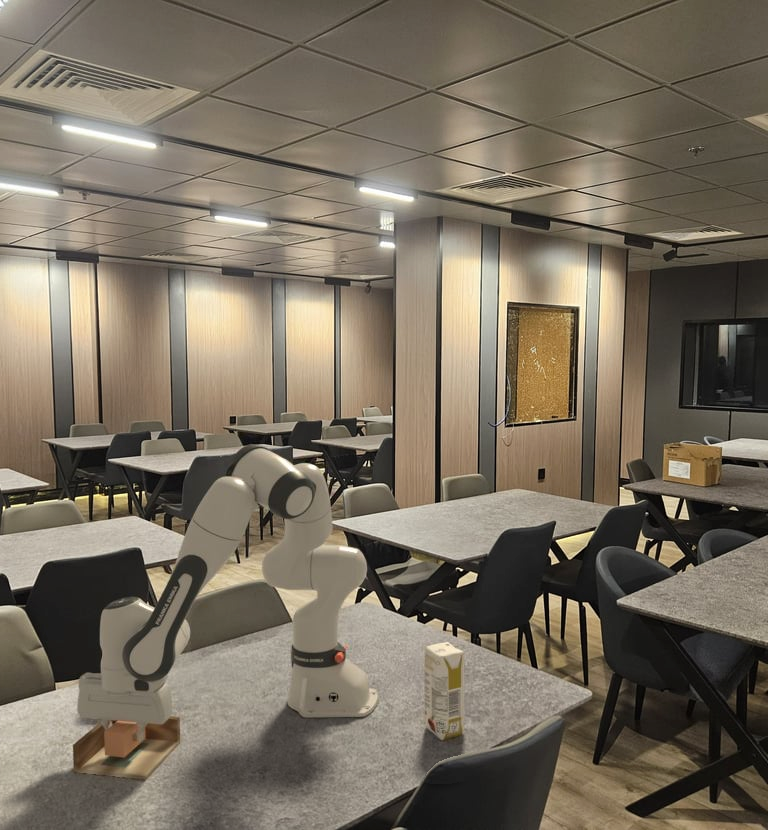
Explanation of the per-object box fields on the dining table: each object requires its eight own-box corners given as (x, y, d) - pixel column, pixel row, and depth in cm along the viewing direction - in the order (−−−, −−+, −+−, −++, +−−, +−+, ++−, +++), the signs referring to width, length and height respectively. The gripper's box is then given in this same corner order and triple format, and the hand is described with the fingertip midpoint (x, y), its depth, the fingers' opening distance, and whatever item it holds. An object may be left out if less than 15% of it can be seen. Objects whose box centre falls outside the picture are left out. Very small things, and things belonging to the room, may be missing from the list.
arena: (180, 742, 160) (179, 716, 159) (146, 779, 145) (145, 751, 145) (113, 736, 162) (113, 711, 162) (73, 772, 148) (72, 744, 147)
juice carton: (440, 743, 158) (440, 658, 157) (420, 726, 166) (420, 645, 165) (469, 735, 162) (469, 652, 161) (448, 719, 170) (448, 639, 169)
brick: (124, 757, 149) (123, 733, 148) (104, 755, 150) (104, 731, 150) (145, 738, 157) (144, 715, 156) (126, 736, 158) (126, 713, 157)
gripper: (69, 678, 151) (71, 742, 152) (160, 684, 147) (162, 750, 148) (87, 666, 157) (89, 728, 158) (174, 672, 154) (176, 735, 154)
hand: (125, 739), depth 153 cm, fingers closed on brick, 4 cm apart
